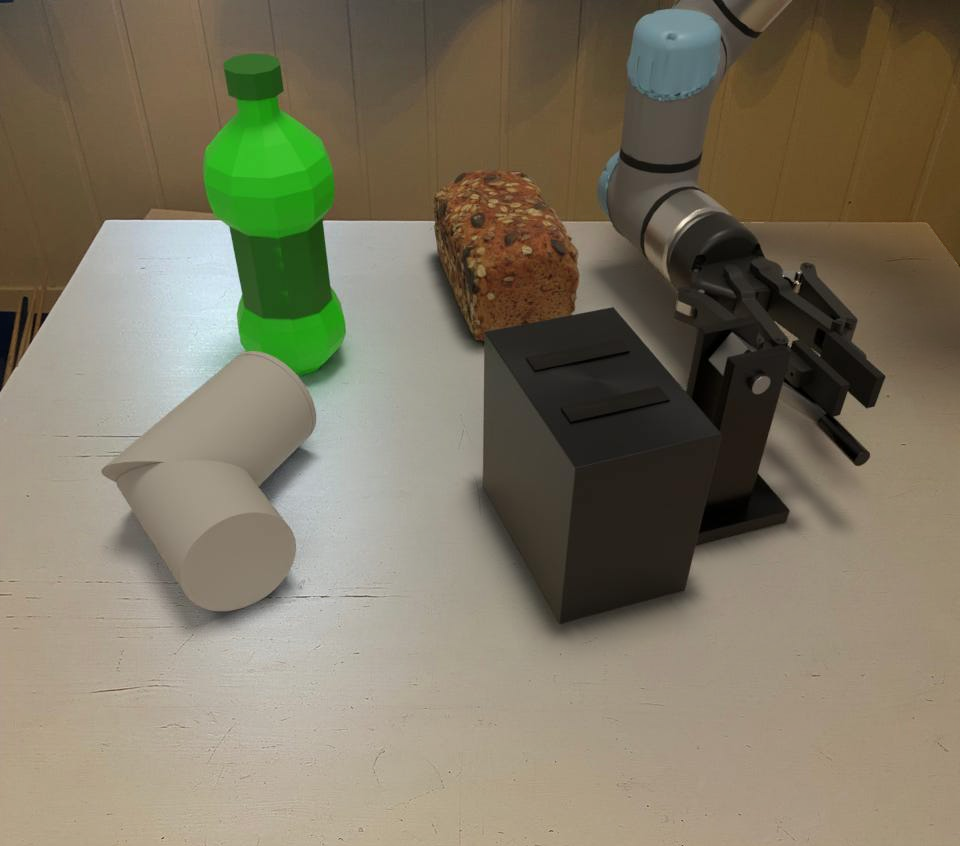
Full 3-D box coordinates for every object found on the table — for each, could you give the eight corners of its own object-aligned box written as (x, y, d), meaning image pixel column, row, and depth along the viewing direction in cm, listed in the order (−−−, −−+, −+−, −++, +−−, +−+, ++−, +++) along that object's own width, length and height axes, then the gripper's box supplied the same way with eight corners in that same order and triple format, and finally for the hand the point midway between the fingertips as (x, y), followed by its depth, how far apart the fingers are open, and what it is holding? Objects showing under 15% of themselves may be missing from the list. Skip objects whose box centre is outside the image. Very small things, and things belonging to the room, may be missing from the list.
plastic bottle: (254, 327, 94) (200, 37, 76) (362, 333, 94) (335, 42, 75) (227, 387, 88) (160, 86, 69) (343, 394, 87) (307, 92, 68)
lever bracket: (735, 461, 81) (777, 297, 70) (786, 521, 76) (840, 356, 65) (626, 487, 79) (652, 322, 68) (672, 551, 74) (707, 385, 63)
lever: (776, 392, 79) (797, 368, 78) (854, 474, 73) (879, 449, 72) (678, 327, 71) (700, 300, 70) (756, 413, 64) (782, 384, 63)
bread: (576, 338, 94) (585, 237, 86) (467, 350, 92) (466, 248, 84) (528, 245, 106) (532, 149, 98) (431, 255, 104) (428, 158, 96)
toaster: (595, 460, 81) (613, 304, 71) (685, 590, 71) (722, 432, 61) (482, 486, 79) (484, 329, 68) (559, 624, 69) (575, 466, 59)
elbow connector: (69, 471, 78) (161, 628, 67) (57, 348, 71) (158, 501, 60) (274, 439, 87) (385, 572, 76) (281, 328, 80) (404, 457, 69)
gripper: (769, 276, 92) (927, 416, 77) (620, 306, 88) (757, 459, 74) (787, 196, 86) (962, 332, 72) (630, 225, 83) (780, 374, 68)
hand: (857, 396), depth 73 cm, fingers open, 2 cm apart
